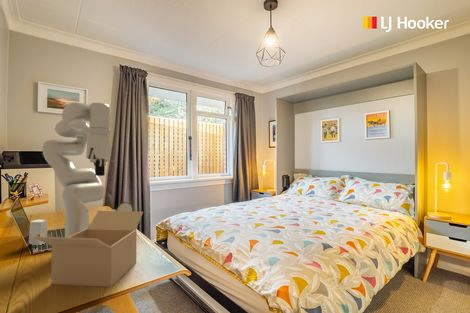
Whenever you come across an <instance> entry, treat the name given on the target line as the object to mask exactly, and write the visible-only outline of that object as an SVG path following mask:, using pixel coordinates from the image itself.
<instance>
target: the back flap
mask: <svg viewBox="0 0 470 313" xmlns="http://www.w3.org/2000/svg"><path fill="white" fill-rule="evenodd" d="M143 213H144V211H134V210H133V211H108V210H97V212H96V214H95V216H94V218H93V219H92V220H91V221H90V223H89V227H88V228H91V229H125V230H136V231H137V228H138V225H139V223H140V221H141V218H142V216H143Z"/></svg>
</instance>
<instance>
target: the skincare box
mask: <svg viewBox="0 0 470 313" xmlns="http://www.w3.org/2000/svg"><path fill="white" fill-rule="evenodd" d="M48 222H49V221H48V220H47V219H34V220H31V221H29V230H28V231H29V232H28V233H29V234H28V236H29V237H28V245H29V244H33V245H42V244H44V245H46V244H45V243H44V242H42V241H39V240H37V239H35V238H33V237H34V236H40V237H48ZM42 246H43V245H42Z"/></svg>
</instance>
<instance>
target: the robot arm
mask: <svg viewBox="0 0 470 313" xmlns="http://www.w3.org/2000/svg"><path fill="white" fill-rule="evenodd" d="M61 119H62V120H60V121H59V122H57V123H56V124H55V126H54V130H55V133H56V134H57V135H58V136H61V137H63V138H74V139H61V138H59V139H58V138H57V139H56V138H54V139H49V140H46V141H45V142H43V143H42V144H43V145H42V154H43V158H44V159H45V161H46V163H47V164H48V165H49V166H50V167H51V168H52V169H53V171H54V173H55V175H56V177H57V179H58V180H57V181H58V182H59V183H60V185H61V186H62V187H63V189H62V193H61V194H62V200H63V205H64V237H69V236H72V235H74V234H76V233H78V232H80V231H82V230H85V229H87V228H88V227H89V226H90V210H89V209H88V208H87V207H86V206H85V205H84V204H86V203H92V202H98V201H101V200H102V199H104V198H105V195H106V189H105V187H104V184H103V183H102V181H101V179H100V177H102V176H105V174H106V173H105V171H106V170H105V167H106V164H107V162H109V161H110V159H111V157H112V143H111V107H110V105H109V104H107V103H104V102H92V103H83V102H75V101H74V102H71V103H68V104H67V105H65V107H63V110H62V111H61ZM87 122H89V124H88V123H87ZM85 150H86V159H88V160H89V162H90V163H93V166H94V169H93V168H90V167H76V166H75V164H74V163H73V162H72V161H71V160H70V159H69V158H67V156H75V157H77V156H81V155H83V154H84V152H85Z"/></svg>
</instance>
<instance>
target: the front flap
mask: <svg viewBox="0 0 470 313" xmlns="http://www.w3.org/2000/svg"><path fill="white" fill-rule="evenodd" d="M33 238H35V239H37V240H39V241H42V242H44V243H46V244H47V245H49V246H51V247H52V246H72V247H101V248H110V246H109V245H107V244H105V243H104V242H102V241H100V240H99V239H97V238H71V237H65V236H47V237H40V236H34V237H33Z"/></svg>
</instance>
